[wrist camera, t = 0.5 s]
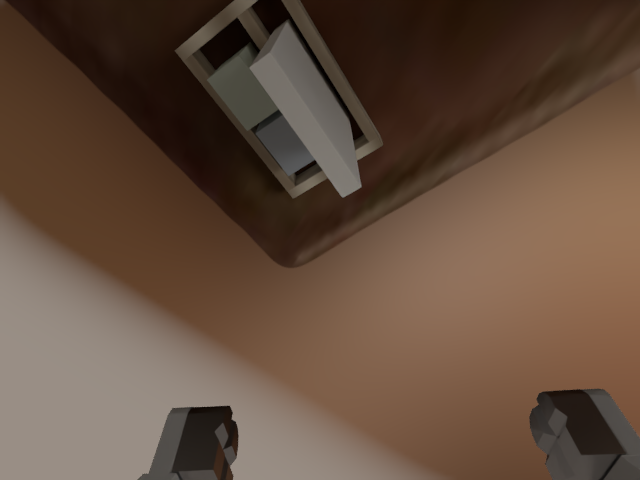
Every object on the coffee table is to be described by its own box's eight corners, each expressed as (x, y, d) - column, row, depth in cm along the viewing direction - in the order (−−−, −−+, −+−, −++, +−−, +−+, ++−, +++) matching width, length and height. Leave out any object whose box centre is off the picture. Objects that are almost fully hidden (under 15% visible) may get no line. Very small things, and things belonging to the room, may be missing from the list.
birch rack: (278, -36, 38) (275, -35, 36) (380, 135, 48) (383, 145, 45) (183, 45, 42) (174, 50, 40) (294, 187, 52) (293, 198, 50)
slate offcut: (289, 97, 45) (285, 113, 41) (318, 139, 48) (317, 158, 44) (261, 116, 47) (255, 133, 42) (291, 156, 50) (288, 176, 45)
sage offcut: (250, 41, 42) (239, 54, 36) (283, 90, 45) (278, 109, 39) (222, 64, 43) (206, 80, 38) (256, 109, 46) (247, 131, 41)
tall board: (288, 18, 41) (270, 51, 26) (348, 115, 47) (361, 187, 32) (274, 29, 41) (249, 67, 27) (335, 123, 47) (342, 197, 32)
